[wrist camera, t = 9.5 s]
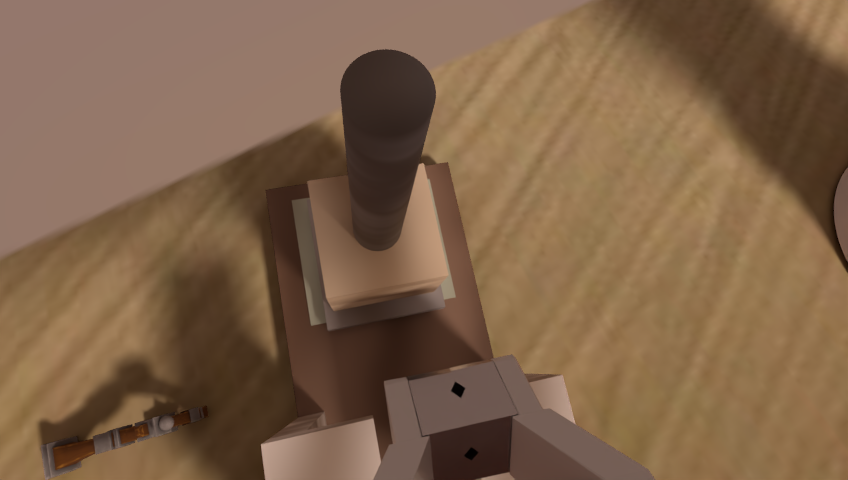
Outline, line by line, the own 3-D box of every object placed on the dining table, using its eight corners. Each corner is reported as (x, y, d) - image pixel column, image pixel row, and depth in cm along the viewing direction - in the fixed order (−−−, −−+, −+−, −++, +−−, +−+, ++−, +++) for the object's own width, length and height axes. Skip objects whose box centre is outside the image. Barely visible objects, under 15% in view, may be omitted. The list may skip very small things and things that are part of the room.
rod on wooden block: (416, 187, 32) (484, -51, 14) (443, 308, 31) (559, 217, 12) (308, 205, 31) (226, -30, 13) (328, 331, 29) (267, 269, 11)
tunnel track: (444, 170, 35) (483, 73, 23) (561, 678, 28) (699, 895, 16) (270, 197, 33) (218, 106, 21) (349, 749, 26) (336, 1050, 15)
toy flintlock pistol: (223, 422, 29) (162, 443, 24) (116, 456, 30) (41, 481, 26) (217, 391, 29) (155, 406, 25) (111, 426, 31) (36, 446, 26)
